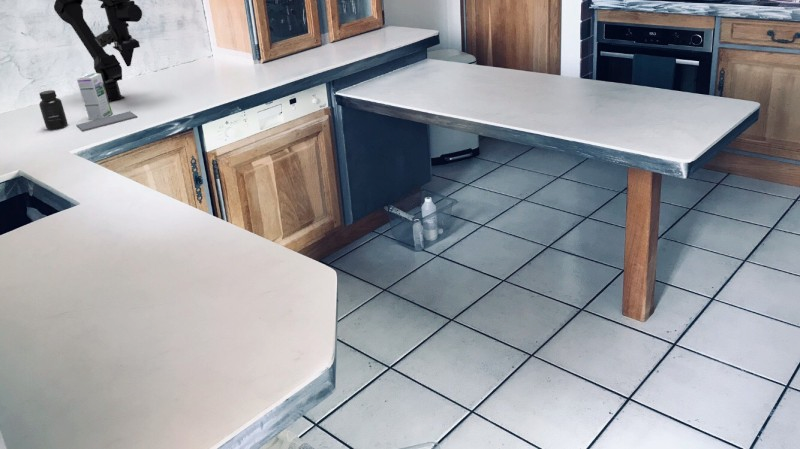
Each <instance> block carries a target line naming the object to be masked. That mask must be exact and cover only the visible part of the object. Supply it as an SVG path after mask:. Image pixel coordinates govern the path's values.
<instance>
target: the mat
mask: <svg viewBox="0 0 800 449" xmlns="http://www.w3.org/2000/svg"><path fill="white" fill-rule="evenodd" d="M137 118H138V115H137V114H135V113H133V112H131V110H129V111H126V112H122V113H118V114H113V115H109V116H108V117H105V118H101V119H97V120H90V121H85V122H82V123H79V124H78V123H77V124H76V127H77V128H78V129H79V130H80V131H82V132H86V131H87V132H88V131H90V130H93V129H94V130H95V129H97V128H102V127H106V126H109V125H114V124H116V123H121V122H125V121H129V120H132V119H137Z"/></svg>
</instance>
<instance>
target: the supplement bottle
mask: <svg viewBox="0 0 800 449" xmlns="http://www.w3.org/2000/svg"><path fill="white" fill-rule="evenodd" d="M38 94H39V98H40V102H39V109H40V112H41V115H42V119H43V122H44V125H45V128H46V130H50V131H52V130H53V131H55V130H60V129H63V128H66V127H67V126H68V125H69V124H68V119H67V116H66V113H65V109H64V105H63V102H62V100H61V98H59V97H57V94H56V91H55V90H53V89H50V90H44V91H42V92H41V91H40V92H39V93H38Z"/></svg>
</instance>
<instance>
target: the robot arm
mask: <svg viewBox="0 0 800 449" xmlns="http://www.w3.org/2000/svg"><path fill="white" fill-rule="evenodd" d="M97 1H99V2H102V4H100V6H99V7H100V9H104V10H105V14H106V17H107V22H108V24H107V29H106V30H105V31H103V32H102V33H100V34H98V35H97V36H96V35H95V33H93V31H92V29H91V27H90V26H89V25H88V22H86V20H85V18H84V9H83V7H82V4H83V2H84V0H55V1H54V5H53V8H54V12H55V13H56V14H57V16H58V17H59V18H60V19H61V20H62V21H64V22H65V23H67V24H69V25H70V26H71V27H72V29H73V31H74V32H75V33H76V35H77V37H78V38H79V39H80V41H81V42H82V45H83V46H84V47H85V49H86V51H88V54H89V55H90V56H91V58H92V59H93V69H94V72H95V73H100V74H101V76H102V80H103V83H104V86H105V90H106V93H107V96H108V100H109V103H110V102H114V101H118V100H122V99H124V98H125V96H124V95H122V94H121V90H120V87H119V83H118V81H122V80H123V68H122V65H121V63H120V61H119V60H118V59H117V57H116V56H115V55H114V54H109V53H107V52H106V50H105V49H104V48H105V47H107V45H110V46H111V45H112V44H114V46H112V48H113V49H114V50H116V51H118V52H119V54H120V56H121V58H122V60H123V61H124V64H125V65H126V67H131V66H132V59H133V54H134V51H135V49H137V48H140V47H141V46H140V41H139V40H137V39H136V38H133V37H132V35H131V34H130V32H129V28H128V27H130V25H129V22H131V23H134V22H135V23H138V22H140V21H141V19H142V18H143V11H142V9H141V7H140V6H139V5H137V4H136V3H135V0H97Z"/></svg>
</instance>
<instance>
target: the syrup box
mask: <svg viewBox="0 0 800 449" xmlns="http://www.w3.org/2000/svg"><path fill="white" fill-rule="evenodd" d="M76 81H77V84H78V87H79V91H80V94H81V98H82V101H83V103H84V107H85V111H86V114H87V117H88V119H89V120H90V121H93V120H97V119H101V118H105V117H109V116H112V114H113V110H112V107H111V104H110V102H109V100H108V96H107V93H106V90H105V86H104V83H103V80H102V76H101V74H100V73H96V72H94V73H93V72H92V73H86V74H84V75H83V76H80V77H78V78H77V79H76Z"/></svg>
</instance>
